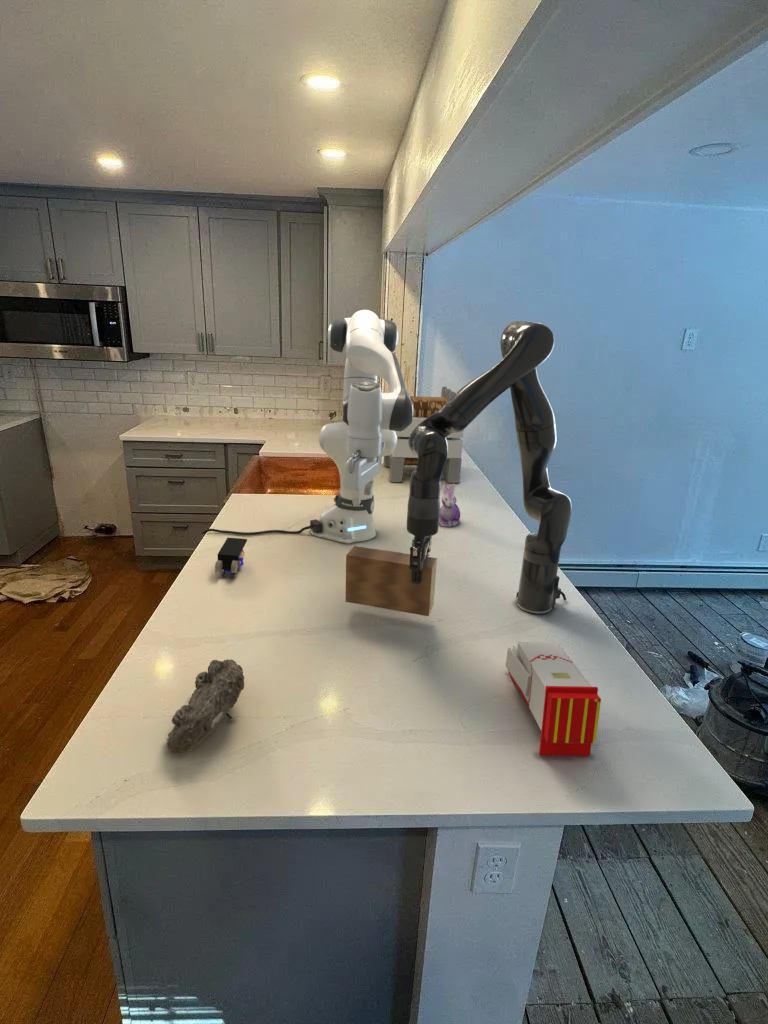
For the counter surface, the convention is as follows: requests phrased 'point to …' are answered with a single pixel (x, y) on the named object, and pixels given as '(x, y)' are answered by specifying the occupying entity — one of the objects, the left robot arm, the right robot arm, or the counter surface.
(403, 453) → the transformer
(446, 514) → the figurine
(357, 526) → the left robot arm
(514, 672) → the toy
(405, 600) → the box
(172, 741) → the fossil
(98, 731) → the counter surface
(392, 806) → the counter surface
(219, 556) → the figurine character
